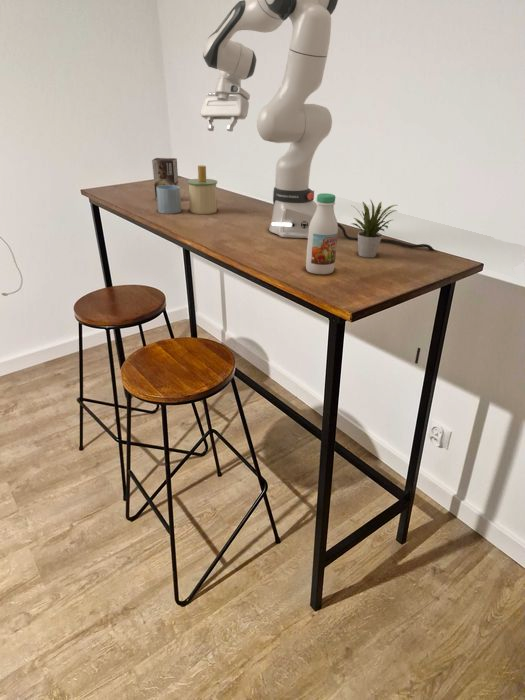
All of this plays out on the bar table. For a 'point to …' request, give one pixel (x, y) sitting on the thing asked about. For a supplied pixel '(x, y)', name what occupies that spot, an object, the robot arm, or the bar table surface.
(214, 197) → the wooden container
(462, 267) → the bar table surface
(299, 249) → the bar table surface
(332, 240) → the milk bottle
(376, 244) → the house plant
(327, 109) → the robot arm
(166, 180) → the coffee box
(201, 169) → the lid
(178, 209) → the cup
